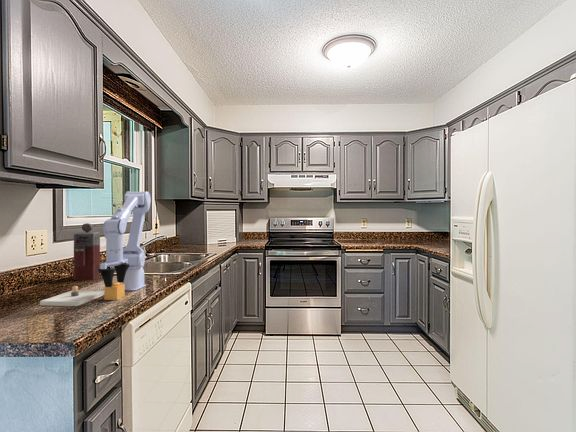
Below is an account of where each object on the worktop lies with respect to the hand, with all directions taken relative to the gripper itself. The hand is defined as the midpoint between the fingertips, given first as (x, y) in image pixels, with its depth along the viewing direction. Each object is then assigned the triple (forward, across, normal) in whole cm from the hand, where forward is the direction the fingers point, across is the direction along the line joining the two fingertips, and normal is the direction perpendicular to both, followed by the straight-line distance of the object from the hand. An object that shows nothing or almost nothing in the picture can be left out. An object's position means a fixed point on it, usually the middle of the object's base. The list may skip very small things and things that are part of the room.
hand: (114, 284), depth 122 cm
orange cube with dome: (+5, 0, 0) cm, 5 cm away
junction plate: (+5, -3, +14) cm, 15 cm away
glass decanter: (+5, +33, +36) cm, 49 cm away
